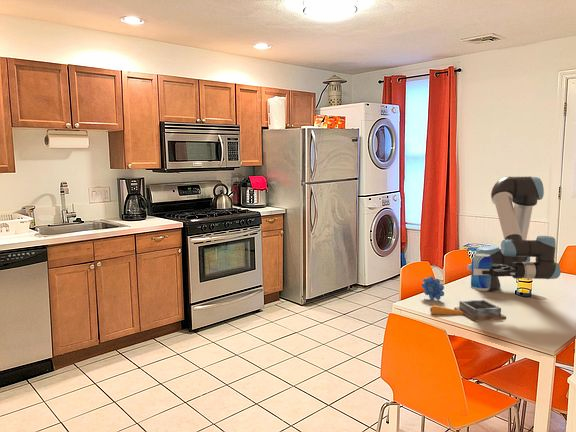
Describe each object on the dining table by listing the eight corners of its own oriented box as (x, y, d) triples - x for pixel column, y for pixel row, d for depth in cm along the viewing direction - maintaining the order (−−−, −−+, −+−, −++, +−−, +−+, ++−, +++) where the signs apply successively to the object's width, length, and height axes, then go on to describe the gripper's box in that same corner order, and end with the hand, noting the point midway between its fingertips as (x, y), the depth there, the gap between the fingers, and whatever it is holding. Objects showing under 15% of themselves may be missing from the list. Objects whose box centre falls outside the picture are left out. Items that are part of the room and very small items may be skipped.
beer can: (481, 292, 201) (483, 257, 199) (466, 287, 208) (468, 253, 206) (494, 289, 205) (496, 255, 203) (479, 285, 212) (480, 252, 210)
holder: (484, 307, 217) (484, 298, 217) (506, 318, 202) (506, 309, 201) (454, 309, 214) (454, 300, 214) (473, 321, 199) (474, 311, 198)
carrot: (430, 316, 208) (432, 309, 206) (428, 310, 212) (430, 302, 210) (474, 321, 206) (476, 314, 204) (472, 315, 210) (474, 308, 208)
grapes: (418, 299, 230) (419, 276, 228) (422, 296, 235) (423, 274, 234) (441, 303, 223) (442, 280, 222) (445, 300, 229) (446, 277, 227)
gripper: (532, 284, 194) (478, 283, 196) (512, 272, 215) (463, 271, 216) (533, 267, 193) (479, 266, 195) (513, 257, 214) (464, 256, 215)
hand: (471, 269), depth 206 cm, fingers closed on beer can, 8 cm apart
